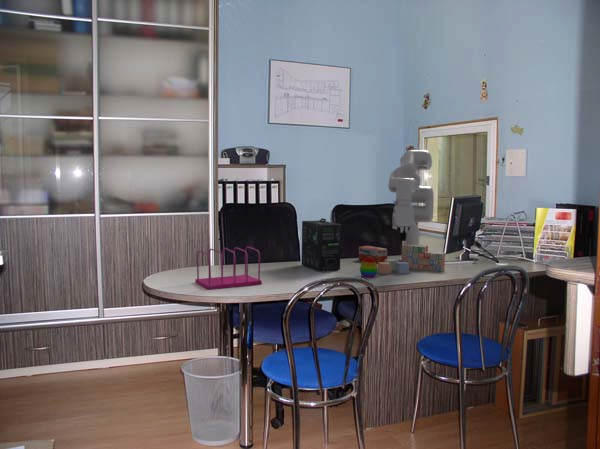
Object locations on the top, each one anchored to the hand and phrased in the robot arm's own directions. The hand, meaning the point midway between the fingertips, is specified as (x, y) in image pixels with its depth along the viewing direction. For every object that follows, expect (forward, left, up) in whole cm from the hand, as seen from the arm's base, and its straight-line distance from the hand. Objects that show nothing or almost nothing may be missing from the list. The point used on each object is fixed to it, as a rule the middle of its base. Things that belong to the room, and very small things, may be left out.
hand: (402, 240), depth 266 cm
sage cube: (-9, -2, -16) cm, 19 cm away
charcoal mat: (-5, -5, -17) cm, 18 cm away
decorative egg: (+6, -20, -17) cm, 27 cm away
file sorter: (+6, -86, -17) cm, 88 cm away
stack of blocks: (-10, +16, -17) cm, 25 cm away
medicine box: (-40, 0, -17) cm, 43 cm away
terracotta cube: (-1, -9, -16) cm, 18 cm away
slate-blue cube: (0, 0, -16) cm, 16 cm away
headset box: (-25, -35, -17) cm, 46 cm away
